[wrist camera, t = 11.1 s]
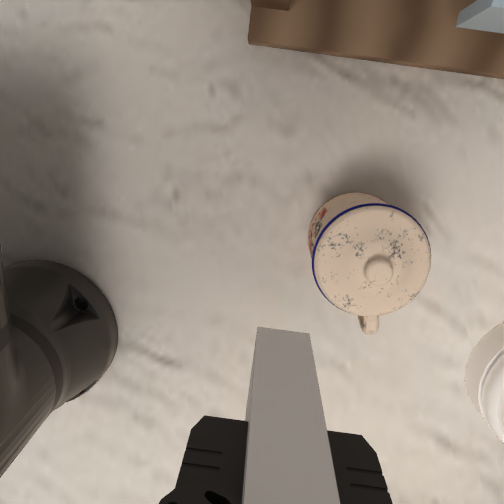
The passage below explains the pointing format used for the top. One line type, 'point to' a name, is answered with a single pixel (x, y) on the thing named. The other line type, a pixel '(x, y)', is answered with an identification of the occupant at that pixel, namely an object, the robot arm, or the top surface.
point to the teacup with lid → (367, 256)
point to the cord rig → (380, 32)
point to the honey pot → (488, 379)
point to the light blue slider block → (483, 16)
